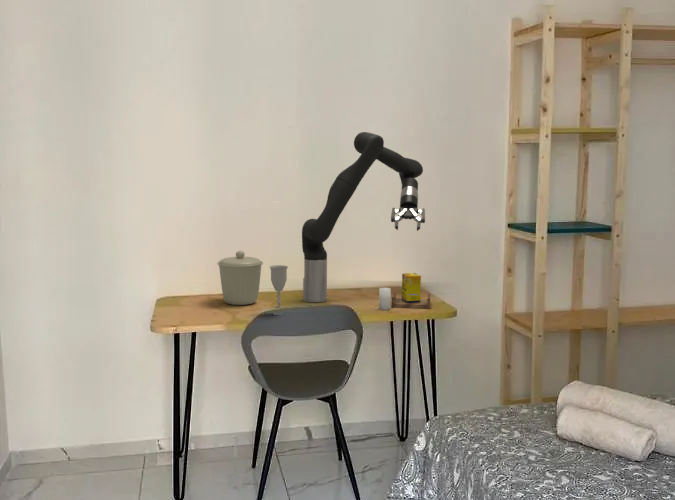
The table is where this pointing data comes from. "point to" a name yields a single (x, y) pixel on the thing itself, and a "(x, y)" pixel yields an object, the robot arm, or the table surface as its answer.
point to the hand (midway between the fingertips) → (407, 229)
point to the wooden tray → (402, 304)
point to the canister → (240, 279)
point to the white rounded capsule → (384, 298)
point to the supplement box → (411, 287)
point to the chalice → (278, 279)
